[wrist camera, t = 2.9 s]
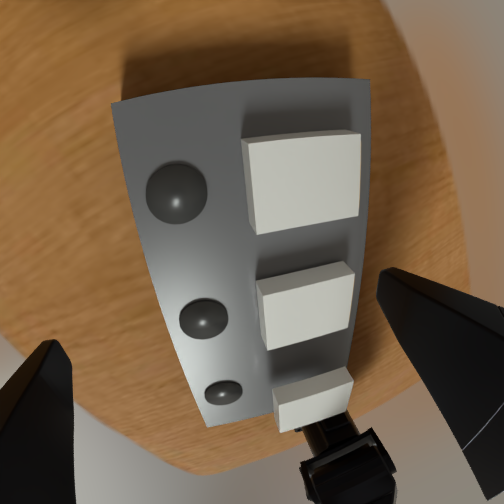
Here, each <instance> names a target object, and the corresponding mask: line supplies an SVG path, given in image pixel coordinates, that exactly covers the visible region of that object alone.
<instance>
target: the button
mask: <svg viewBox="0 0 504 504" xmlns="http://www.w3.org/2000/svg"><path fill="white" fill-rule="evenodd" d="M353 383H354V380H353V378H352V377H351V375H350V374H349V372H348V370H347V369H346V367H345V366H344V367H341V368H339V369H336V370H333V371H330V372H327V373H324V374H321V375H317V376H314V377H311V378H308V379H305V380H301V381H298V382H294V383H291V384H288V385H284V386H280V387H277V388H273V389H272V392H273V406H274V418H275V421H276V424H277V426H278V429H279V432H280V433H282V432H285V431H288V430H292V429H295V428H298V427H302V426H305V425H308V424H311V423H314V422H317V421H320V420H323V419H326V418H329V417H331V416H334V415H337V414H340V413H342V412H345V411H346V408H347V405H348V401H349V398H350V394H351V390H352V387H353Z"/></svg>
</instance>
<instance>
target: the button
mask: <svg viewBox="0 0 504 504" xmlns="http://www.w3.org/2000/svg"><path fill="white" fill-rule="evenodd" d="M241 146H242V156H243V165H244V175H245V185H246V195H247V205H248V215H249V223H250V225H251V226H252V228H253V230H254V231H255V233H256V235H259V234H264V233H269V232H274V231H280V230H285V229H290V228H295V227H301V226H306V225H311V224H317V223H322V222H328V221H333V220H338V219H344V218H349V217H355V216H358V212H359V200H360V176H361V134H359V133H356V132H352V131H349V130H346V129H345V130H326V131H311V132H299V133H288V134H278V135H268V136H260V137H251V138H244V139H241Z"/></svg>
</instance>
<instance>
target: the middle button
mask: <svg viewBox="0 0 504 504" xmlns="http://www.w3.org/2000/svg"><path fill="white" fill-rule="evenodd" d="M354 276H355V273H354V272H353V271H352V270H351V269H350V268H349V267H348V266H347V264H346V263H345V262H344V261H340V262H336V263H331V264H327V265H323V266H319V267H314V268H310V269H306V270H301V271H297V272H293V273H288V274H284V275H279V276H275V277H270V278H266V279H261V280H257V281H256V289H257V298H258V308H259V318H260V328H261V336H262V338H263V341H264V343H265V346H266V348H267V351H268V350H272V349H276V348H280V347H283V346H287V345H291V344H294V343H298V342H302V341H305V340H309V339H312V338H316V337H319V336H322V335H326V334H329V333H332V332H335V331H339V330H342V329H345V328H348V323H349V318H350V311H351V303H352V296H353V288H354V279H355V277H354Z"/></svg>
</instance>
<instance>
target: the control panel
mask: <svg viewBox="0 0 504 504" xmlns="http://www.w3.org/2000/svg"><path fill="white" fill-rule="evenodd" d="M111 108H112V114H113V120H114V126H115V131H116V137H117V142H118V147H119V152H120V157H121V162H122V167H123V172H124V176H125V181H126V185H127V190H128V194H129V198H130V202H131V206H132V210H133V214H134V218H135V222H136V226H137V230H138V234H139V237H140V241H141V245H142V248H143V252H144V255H145V259H146V262H147V266H148V269H149V272H150V276H151V279H152V282H153V285H154V288H155V292H156V295H157V298H158V301H159V304H160V307H161V310H162V313H163V316H164V319H165V322H166V325H167V327H168V330H169V333H170V336H171V339H172V341H173V344H174V347H175V350H176V352H177V355H178V358H179V360H180V363H181V366H182V368H183V371H184V373H185V376H186V378H187V381H188V383H189V386H190V388H191V391H192V393H193V395H194V398H195V400H196V403H197V405H198V407H199V410H200V412H201V414H202V417H203V419H204V421H205V423H206V426H207V427H212V426H217V425H222V424H226V423H231V422H236V421H240V420H244V419H249V418H253V417H257V416H261V415H264V414H268V413H272V412H274V406H273V392H272V389H273V388H277V387H280V386H284V385H288V384H291V383H294V382H298V381H301V380H305V379H308V378H311V377H314V376H317V375H321V374H324V373H327V372H330V371H333V370H336V369H339V368H341V367H344V366H345V367H346V369H347V364H348V359H349V354H350V348H351V343H352V337H353V331H354V326H355V319H356V313H357V307H358V300H359V293H360V285H361V277H362V269H363V261H364V251H365V241H366V230H367V218H368V204H369V186H370V161H371V97H370V79H352V78H278V79H261V80H247V81H236V82H227V83H218V84H210V85H202V86H195V87H189V88H183V89H177V90H171V91H165V92H160V93H155V94H150V95H145V96H141V97H136V98H132V99H127V100H123V101H119V102H115V103H111ZM345 129H346V130H349V131H352V132H356V133H359V134H361V176H360V200H359V212H358V216H355V217H349V218H344V219H338V220H333V221H328V222H322V223H317V224H311V225H306V226H301V227H295V228H290V229H285V230H280V231H274V232H269V233H264V234H259V235H256V233H255V231H254V230H253V228H252V226H251V225H250V223H249V215H248V205H247V195H246V185H245V175H244V165H243V156H242V146H241V139H244V138H251V137H260V136H268V135H278V134H288V133H299V132H311V131H326V130H345ZM340 261H344V262H345V263H346V264H347V266H348V267H349V268H350V269H351V270H352V271H353V272H354V273H355V276H354V277H355V279H354V288H353V296H352V303H351V311H350V318H349V323H348V328H345V329H342V330H339V331H335V332H332V333H329V334H326V335H322V336H319V337H316V338H312V339H309V340H305V341H302V342H298V343H294V344H291V345H287V346H283V347H280V348H276V349H272V350H268V351H267V348H266V346H265V343H264V341H263V338H262V336H261V328H260V318H259V308H258V298H257V289H256V281H257V280H261V279H266V278H270V277H275V276H279V275H284V274H288V273H293V272H297V271H301V270H306V269H310V268H314V267H319V266H323V265H327V264H331V263H336V262H340Z"/></svg>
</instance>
